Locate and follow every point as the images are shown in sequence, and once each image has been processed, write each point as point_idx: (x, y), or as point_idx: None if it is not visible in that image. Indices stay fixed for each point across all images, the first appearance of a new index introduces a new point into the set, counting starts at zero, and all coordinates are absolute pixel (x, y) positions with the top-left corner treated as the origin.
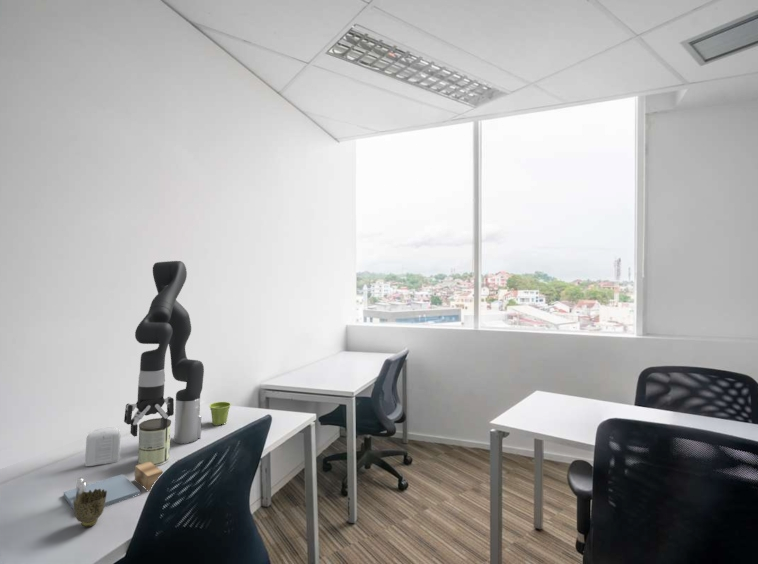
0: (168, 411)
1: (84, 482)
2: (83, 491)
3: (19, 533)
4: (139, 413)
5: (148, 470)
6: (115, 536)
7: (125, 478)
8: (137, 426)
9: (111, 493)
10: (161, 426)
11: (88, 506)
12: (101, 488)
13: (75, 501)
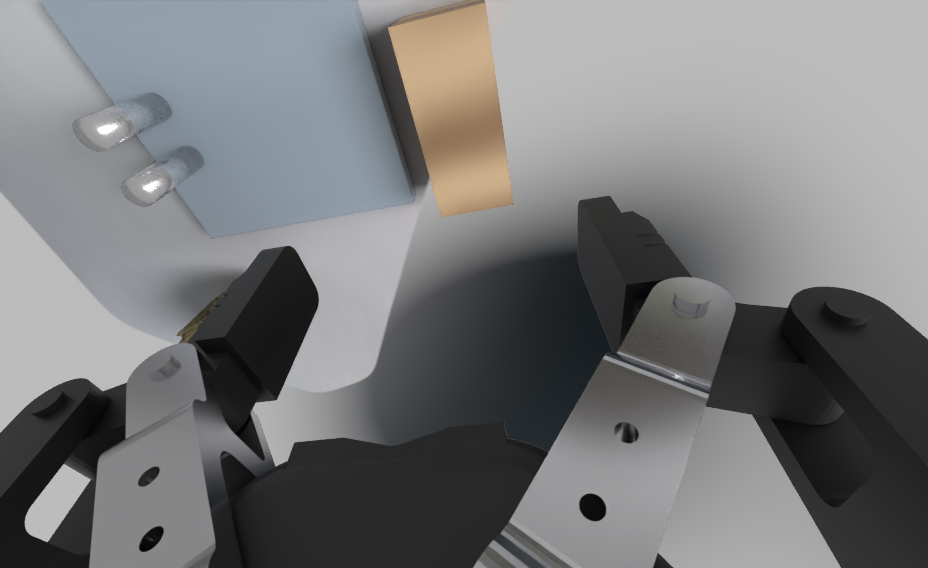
0: (814, 374)
1: (143, 193)
2: (189, 328)
3: (71, 237)
4: (198, 470)
5: (453, 153)
6: (349, 361)
7: (348, 14)
8: (283, 381)
9: (301, 163)
10: (587, 241)
11: None
12: (241, 77)
13: (187, 337)
